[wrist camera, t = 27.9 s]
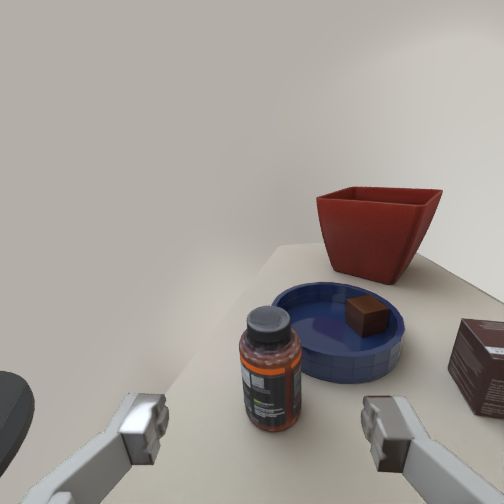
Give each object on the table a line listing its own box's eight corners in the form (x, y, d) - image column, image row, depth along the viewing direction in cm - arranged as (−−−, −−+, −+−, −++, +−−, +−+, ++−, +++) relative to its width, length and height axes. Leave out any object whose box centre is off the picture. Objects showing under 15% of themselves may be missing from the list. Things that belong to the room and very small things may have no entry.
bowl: (314, 405, 27) (315, 377, 25) (254, 316, 42) (253, 296, 41) (432, 356, 32) (438, 330, 31) (340, 293, 48) (342, 274, 46)
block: (361, 338, 35) (364, 313, 34) (344, 321, 39) (346, 299, 37) (385, 332, 36) (389, 308, 34) (366, 316, 40) (369, 294, 38)
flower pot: (407, 299, 45) (425, 204, 39) (311, 272, 57) (314, 197, 51) (428, 264, 58) (444, 189, 52) (346, 248, 70) (351, 186, 64)
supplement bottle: (294, 380, 30) (294, 297, 26) (307, 432, 24) (310, 335, 20) (243, 385, 29) (236, 301, 26) (245, 438, 24) (236, 341, 20)
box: (508, 377, 29) (529, 323, 26) (551, 429, 23) (583, 367, 21) (445, 368, 30) (459, 316, 28) (472, 415, 25) (492, 356, 22)
